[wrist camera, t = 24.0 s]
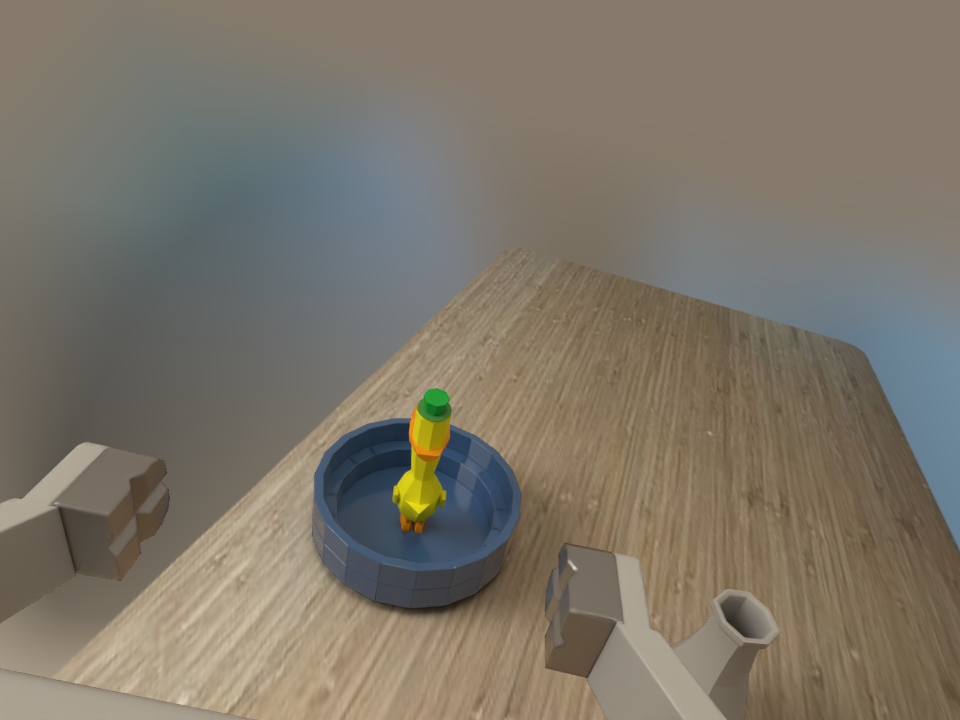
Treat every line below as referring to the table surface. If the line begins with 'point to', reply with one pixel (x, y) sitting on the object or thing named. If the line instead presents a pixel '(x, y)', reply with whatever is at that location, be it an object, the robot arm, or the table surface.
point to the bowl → (408, 555)
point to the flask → (728, 649)
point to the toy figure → (424, 461)
